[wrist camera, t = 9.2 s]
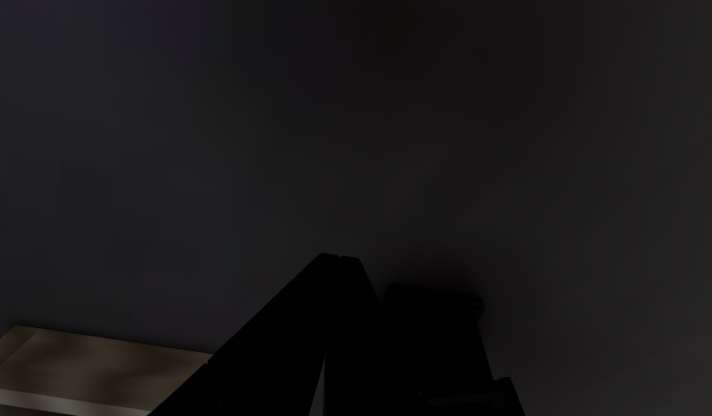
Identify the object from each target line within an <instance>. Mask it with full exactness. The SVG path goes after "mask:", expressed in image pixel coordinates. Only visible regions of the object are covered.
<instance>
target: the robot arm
mask: <svg viewBox="0 0 712 416" xmlns="http://www.w3.org/2000/svg"><path fill="white" fill-rule="evenodd" d="M391 292H396V293H391ZM475 304H478V305H475ZM484 307H485V306H484V302H483V300H482V299H481V298H479V297H474V296H467V295H460V294H453V293H447V292H440V291H433V290H426V289H420V288H413V287H406V286H399V285H390V286H388V287H387V289H386V292H385V297H384V301H383V306H382V305H381V303H380V301H379V299H378V297H377V295H376V293H375V290H374V288H373V286H372V284H371V282H370V280H369V278H368V276H367V274H366V272H365V270H364V267H363V265H362V263H361V261H360V260H359V259H358V258H355V257H348V256H341V257H340V258H339V256H338V255H334V254H326V253H320V254H319V255H318V256H317V257H316V258H315V259H313V260H312V261H311V262H310V263H309V264H308V265H307V266H306V267H305V268H304V269H303V270H302V271H301V272H300V273H299V274H298V275H297V276H296V277H295V278H294V279H292V280H291V281H290V282H289V283H288V284H287V285H286V286H285V287H284V288H283V289H282V290H281V291H280V292H279V293H278V294H277V295H276V296H275V297H274V298H273V299H271V300H270V301H269V302H268V303H267V304H266V305H265V306H264V307H263V308H262V309H261V310H260V311H259V312H258V313H257V314H256V315H255V316H254V317H253V318H252V319H250V320H249V321H248V322H247V323H246V324H245V325H244V326H243V327H242V328H241V329H240V330H239V331H238V332H237V333H236V334H235V335H234V336H233V337H232V338H230V339H229V340H228V341H227V342H226V343H225V344H224V345H223V346H222V347H221V348H220V349H219V350H218V351H217V352H216V353H215V354H214V355H213V356H212V357H211V358H209V359H208V364H206V363H204V364H203V365H202V366H201V367H200V368H199V369H198V370H197V371H196V372H194V373H193V374H192V375H191V376H190V377H189V378H188V379H187V380H186V381H185V382H184V383H183V384H182V385H181V386H179V387H178V388H177V389H176V390H175V391H174V392H173V393H172V394H171V395H170V396H168V397H167V398H166V399H165V400H164V401H163V402H162V403H161V404H160V405H159V406H157V407H156V408H155V409H154V410H153V411H152V412H150V413H149V414H148V415H147V416H308V415H309V412H310V408H311V405H312V401H313V398H314V394H315V391H316V387H317V384H318V381H319V377H320V374H321V370H322V366H323V362H324V358H325V369H324V393H323V416H525V414H524V411H523V409H522V406H521V404H520V401H519V399H518V396H517V394H516V391H515V389H514V386H513V383H512V381H511V378H510V377H505V378H499V379H500V380H495V381H493V377H492V374H491V370H490V367H489V363H488V360H487V356H486V353H485V349H484V346H483V342H482V339H481V335H480V331H479V328H478V322H479V319H480V317H481V315H482V312H483V310H484ZM325 353H326V356H325Z"/></svg>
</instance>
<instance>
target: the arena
mask: <svg viewBox="0 0 712 416" xmlns="http://www.w3.org/2000/svg"><path fill="white" fill-rule="evenodd" d="M213 355H214V354H208V353H202V352H195V351H188V350H182V349H175V348H168V347H162V346H155V345H148V344H141V343H135V342H128V341H121V340H115V339H108V338H101V337H95V336H88V335H81V334H75V333H68V332H61V331H54V330H48V329H41V328H34V327H28V326H21V325H16V326H15V327H13V328H12V329H11V330H10V331H9V332H8V333H6V334H5V335H4V336H3V337H2V338H0V416H147V415H148V414H149V413H150V412H152V411H153V410H154V409H155V408H156V407H157V406H159V405H160V404H161V403H162V402H163V401H164V400H165V399H166V398H167V397H168V396H170V395H171V394H172V393H173V392H174V391H175V390H176V389H177V388H178V387H179V386H181V385H182V384H183V383H184V382H185V381H186V380H187V379H188V378H189V377H190V376H191V375H192V374H193V373H194V372H196V371H197V370H198V369H199V368H200V367H201V366H202V365H203V364H204V363H206V364H208V359H209V358H211V357H212V356H213Z"/></svg>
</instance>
